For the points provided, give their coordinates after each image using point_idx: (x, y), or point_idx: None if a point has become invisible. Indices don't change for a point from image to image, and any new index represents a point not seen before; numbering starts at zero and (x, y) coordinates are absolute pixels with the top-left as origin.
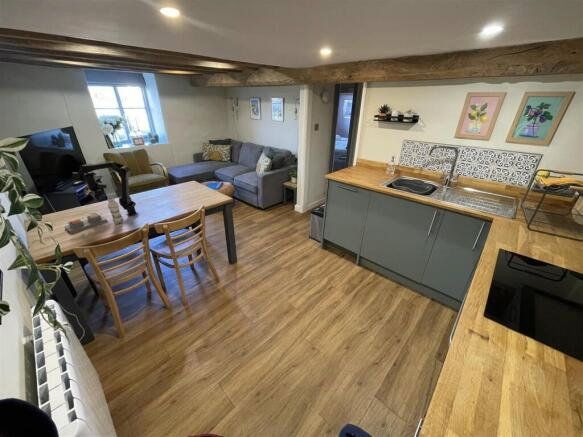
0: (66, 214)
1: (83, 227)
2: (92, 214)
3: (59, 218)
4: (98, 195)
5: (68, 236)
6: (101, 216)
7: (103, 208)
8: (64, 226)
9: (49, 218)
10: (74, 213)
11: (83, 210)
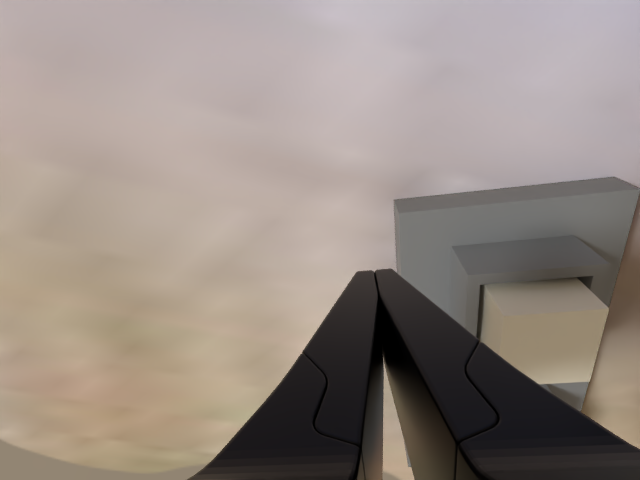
0: (54, 386)
1: (582, 392)
2: (566, 355)
3: (129, 429)
4: (540, 419)
5: None
6: (465, 210)
7: (52, 78)
8: (409, 465)
9: (85, 462)
10: (63, 343)
11: (9, 273)
